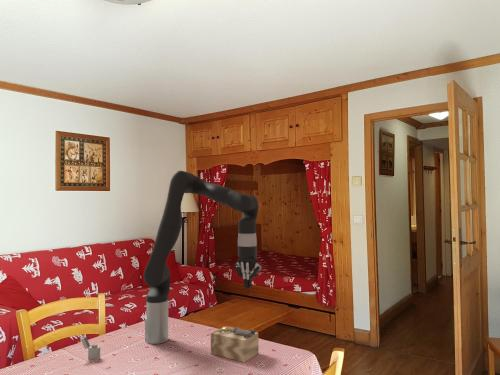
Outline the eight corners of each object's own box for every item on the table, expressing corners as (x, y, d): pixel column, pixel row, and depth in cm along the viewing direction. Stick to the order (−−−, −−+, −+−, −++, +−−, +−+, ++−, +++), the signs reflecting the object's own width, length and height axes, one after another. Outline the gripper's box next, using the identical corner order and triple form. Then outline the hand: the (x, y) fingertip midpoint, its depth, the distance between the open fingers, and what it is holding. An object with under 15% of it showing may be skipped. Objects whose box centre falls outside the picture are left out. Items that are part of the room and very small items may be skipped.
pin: (220, 352, 151) (220, 328, 151) (225, 349, 154) (225, 325, 154) (227, 353, 149) (227, 329, 150) (232, 350, 152) (232, 326, 152)
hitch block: (210, 353, 150) (210, 328, 150) (226, 345, 158) (225, 322, 159) (244, 362, 141) (244, 336, 141) (258, 353, 149) (258, 328, 150)
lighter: (100, 357, 147) (100, 336, 148) (98, 359, 145) (98, 338, 146) (82, 357, 148) (83, 336, 148) (80, 359, 146) (80, 338, 146)
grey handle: (231, 332, 148) (231, 329, 148) (237, 330, 151) (237, 327, 151) (248, 337, 144) (248, 334, 144) (253, 334, 147) (253, 331, 147)
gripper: (266, 244, 150) (267, 288, 150) (239, 243, 158) (239, 285, 157) (256, 246, 144) (256, 292, 143) (228, 244, 151) (228, 288, 151)
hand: (247, 288), depth 150 cm, fingers closed
